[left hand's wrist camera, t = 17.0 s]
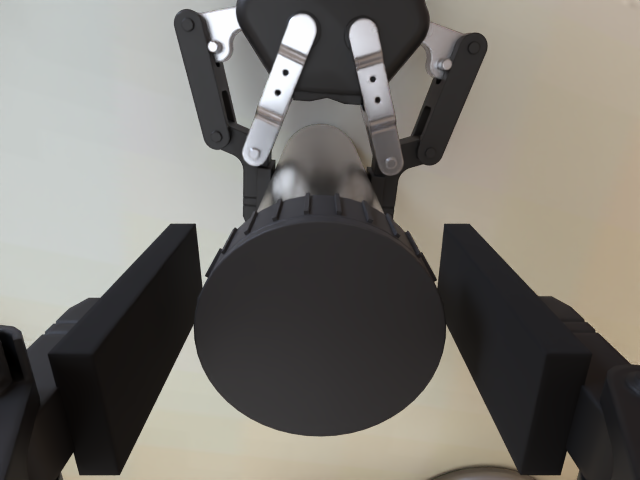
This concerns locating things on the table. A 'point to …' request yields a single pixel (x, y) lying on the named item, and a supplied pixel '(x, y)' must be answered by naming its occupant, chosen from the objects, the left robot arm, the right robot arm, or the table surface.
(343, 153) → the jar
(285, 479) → the table surface
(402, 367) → the lid
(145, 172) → the table surface
